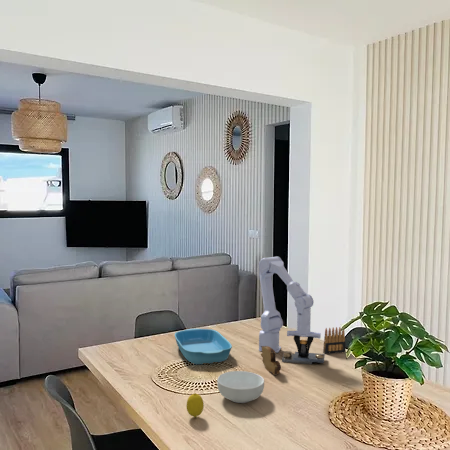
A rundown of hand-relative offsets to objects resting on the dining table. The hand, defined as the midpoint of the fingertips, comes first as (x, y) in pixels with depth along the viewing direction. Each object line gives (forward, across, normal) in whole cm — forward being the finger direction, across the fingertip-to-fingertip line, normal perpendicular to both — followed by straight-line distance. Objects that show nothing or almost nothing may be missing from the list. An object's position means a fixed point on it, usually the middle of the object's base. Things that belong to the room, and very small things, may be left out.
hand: (303, 353), depth 199 cm
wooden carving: (+4, -12, -16) cm, 20 cm away
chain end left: (+3, -2, 0) cm, 4 cm away
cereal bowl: (+4, -18, -45) cm, 49 cm away
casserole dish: (+4, -46, -3) cm, 46 cm away
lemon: (+4, -29, -63) cm, 69 cm away
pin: (+2, 0, 0) cm, 2 cm away
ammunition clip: (+4, +13, +15) cm, 20 cm away
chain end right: (+3, +3, 0) cm, 4 cm away
